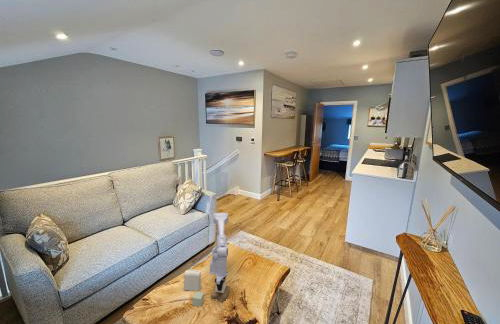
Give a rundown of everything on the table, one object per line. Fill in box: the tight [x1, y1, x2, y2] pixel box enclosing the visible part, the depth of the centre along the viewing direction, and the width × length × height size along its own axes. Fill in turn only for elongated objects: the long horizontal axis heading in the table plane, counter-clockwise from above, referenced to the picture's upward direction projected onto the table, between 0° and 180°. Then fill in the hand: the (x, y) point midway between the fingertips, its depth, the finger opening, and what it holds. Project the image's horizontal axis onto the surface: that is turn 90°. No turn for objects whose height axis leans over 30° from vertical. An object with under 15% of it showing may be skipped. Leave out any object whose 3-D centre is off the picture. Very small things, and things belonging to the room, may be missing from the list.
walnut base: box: [210, 284, 231, 302], centre depth 123 cm, size 9×9×3 cm
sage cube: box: [191, 291, 205, 307], centre depth 116 cm, size 5×5×5 cm
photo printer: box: [183, 269, 202, 292], centre depth 127 cm, size 10×4×12 cm, turn 90°
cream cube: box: [215, 278, 227, 293], centre depth 122 cm, size 5×5×5 cm
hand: (220, 287), depth 122 cm, fingers closed on cream cube, 5 cm apart
